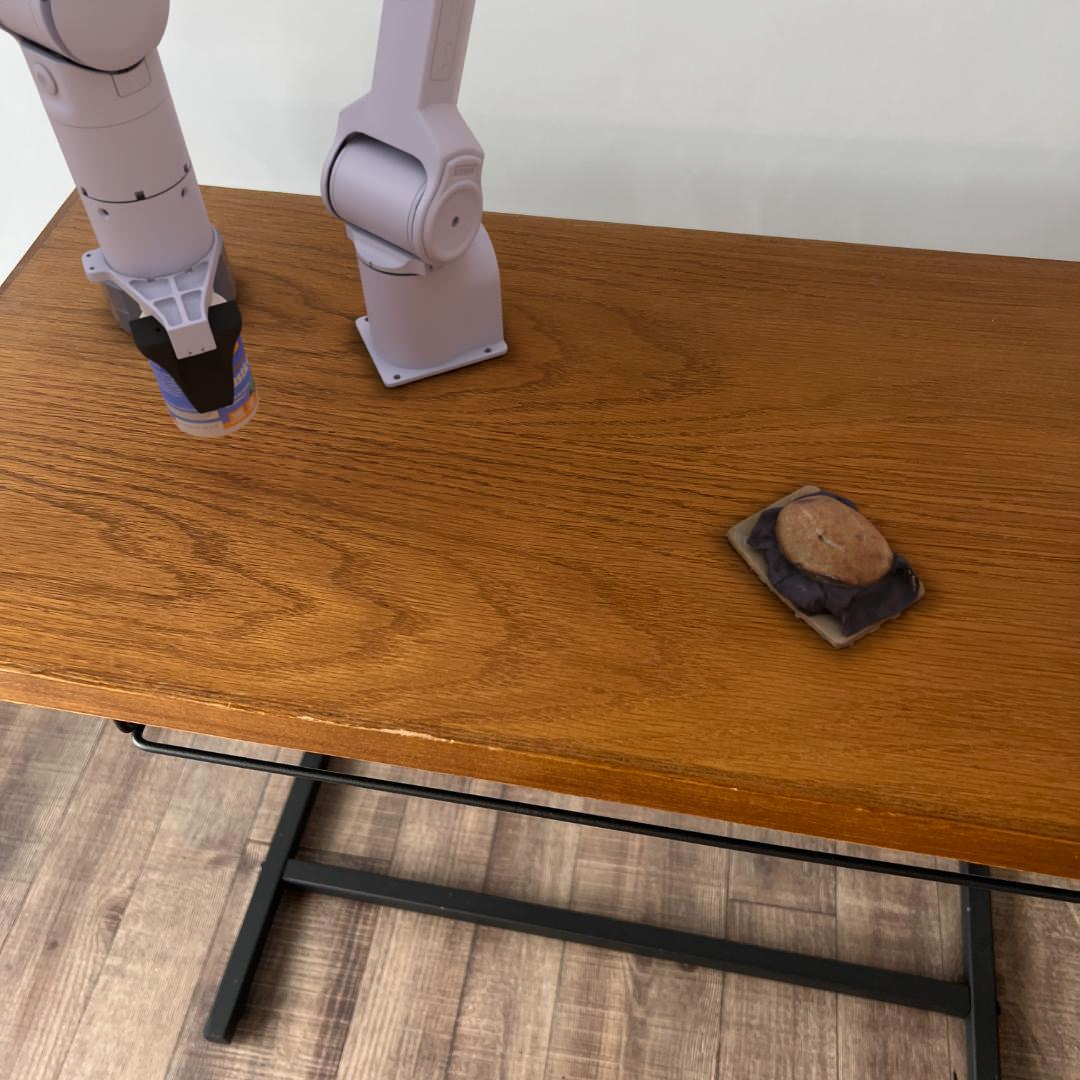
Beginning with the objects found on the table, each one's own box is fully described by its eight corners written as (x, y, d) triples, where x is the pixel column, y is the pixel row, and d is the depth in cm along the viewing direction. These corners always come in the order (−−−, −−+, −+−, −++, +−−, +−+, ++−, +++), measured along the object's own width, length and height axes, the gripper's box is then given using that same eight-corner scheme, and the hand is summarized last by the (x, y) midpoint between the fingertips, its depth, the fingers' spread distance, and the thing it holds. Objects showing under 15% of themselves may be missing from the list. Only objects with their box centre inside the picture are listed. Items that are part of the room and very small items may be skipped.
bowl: (223, 256, 88) (207, 202, 84) (250, 325, 83) (235, 271, 79) (106, 286, 86) (85, 232, 82) (126, 358, 80) (104, 305, 77)
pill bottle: (251, 441, 65) (209, 313, 57) (162, 440, 65) (109, 313, 58) (268, 379, 68) (231, 251, 61) (184, 378, 69) (136, 250, 61)
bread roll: (715, 540, 69) (722, 502, 66) (817, 485, 71) (827, 446, 68) (830, 658, 63) (842, 622, 60) (935, 593, 66) (952, 556, 63)
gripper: (32, 118, 57) (116, 319, 68) (72, 273, 49) (160, 475, 59) (165, 88, 59) (226, 289, 70) (226, 233, 51) (285, 437, 61)
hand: (204, 373), depth 65 cm, fingers closed on pill bottle, 5 cm apart
